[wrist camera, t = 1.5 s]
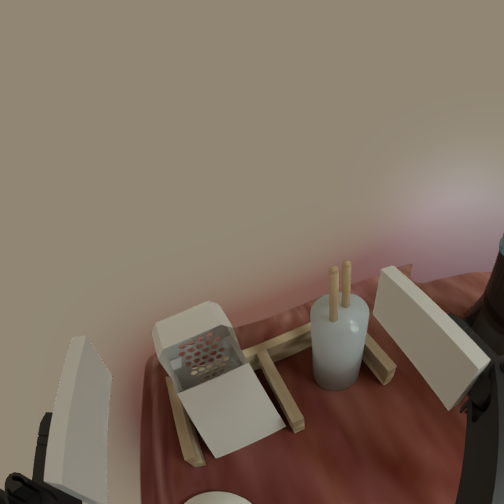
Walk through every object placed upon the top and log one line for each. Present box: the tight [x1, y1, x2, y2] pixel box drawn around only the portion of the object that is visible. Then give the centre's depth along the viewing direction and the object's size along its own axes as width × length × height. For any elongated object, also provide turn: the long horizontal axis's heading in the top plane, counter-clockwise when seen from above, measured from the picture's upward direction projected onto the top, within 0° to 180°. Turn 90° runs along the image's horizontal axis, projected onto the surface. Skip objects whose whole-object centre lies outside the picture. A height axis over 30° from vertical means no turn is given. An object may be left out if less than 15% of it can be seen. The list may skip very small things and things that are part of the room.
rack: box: [165, 322, 397, 467], centre depth 36 cm, size 30×14×4 cm, turn 110°
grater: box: [151, 301, 286, 458], centre depth 30 cm, size 10×10×20 cm
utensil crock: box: [310, 260, 369, 391], centre depth 33 cm, size 7×7×20 cm
